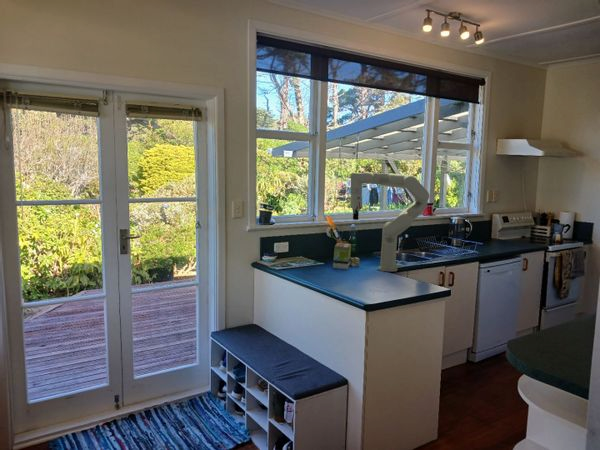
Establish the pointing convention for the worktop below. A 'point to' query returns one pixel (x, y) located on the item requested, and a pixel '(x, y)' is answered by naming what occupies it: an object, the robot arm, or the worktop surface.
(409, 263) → the worktop surface
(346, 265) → the tea box
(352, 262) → the birch block
